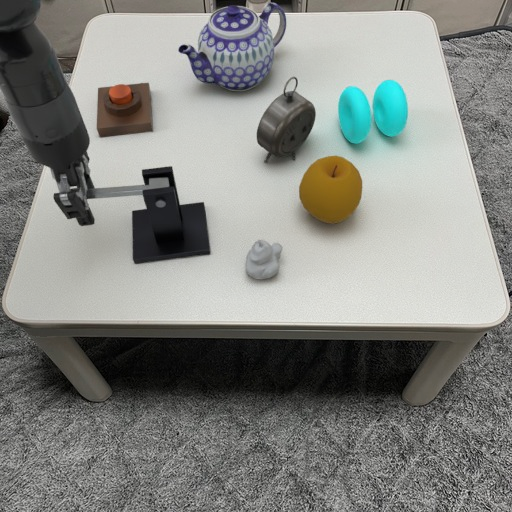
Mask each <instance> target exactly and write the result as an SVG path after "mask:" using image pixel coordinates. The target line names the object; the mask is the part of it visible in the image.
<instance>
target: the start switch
mask: <svg viewBox="0 0 512 512" xmlns="http://www.w3.org/2000/svg"><path fill="white" fill-rule="evenodd" d="M126 85H127V86H129V87H130V89H131V93H132V100H131V101H130V102H129V103H127V104H124V105H116V104H114V103H112V101H111V98H110V94H109V90H110V89H111V88H112V87H113V86H114V85H113V86H112V85H111V86H110V85H109V86H103V87H102V86H101V87H97V104H96V105H97V107H96V130H97V133H98V137H99V138H105V137H115V136H123V135H132V134H134V135H135V134H140V133H141V134H142V133H150V132H151V133H152V132H153V131H154V130H153V129H154V128H153V111H152V109H153V108H152V91H151V88H150V83H149V82H141V83H129V84H126Z"/></svg>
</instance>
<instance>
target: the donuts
mask: <svg viewBox="0 0 512 512" xmlns="http://www.w3.org/2000/svg"><path fill="white" fill-rule="evenodd" d="M373 94H374V95H373V96H372V97H373V98H372V112H371V105H370V102H369V99H368V97H367V95H366V94H365V92H364V91H363V90H362V89H361V88H359V87H357V86H354V85H353V86H352V85H351V86H348V87H345V88H344V89H343V90H342V91H341V93H340V95H339V99H338V105H337V107H338V108H337V113H338V122H339V125H340V128H341V129H340V130H341V132H342V134H343V136H344V137H345V139H346V140H347V141H348V142H349V143H352V144H360V143H362V142H364V141H365V140H366V139H367V137H368V135H369V134H370V130H371V126H372V114H373V119H374V122H375V124H376V126H377V128H378V130H379V131H380V132H381V133H382V134H383V135H385V136H387V137H396V136H399V135H400V134H401V133H402V132H403V131H404V129H405V128H406V125H407V121H408V115H409V107H408V99H407V96H406V92H405V90H404V88H403V87H402V85H401V84H400V83H399V82H398V81H396V80H394V79H386V80H383V81H382V82H380V83H379V84H378V86H377V87H376V89H375V91H374V93H373Z"/></svg>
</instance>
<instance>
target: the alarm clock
mask: <svg viewBox="0 0 512 512" xmlns="http://www.w3.org/2000/svg"><path fill="white" fill-rule="evenodd" d="M292 80H295V86H294V89H292V90H289V91H286V90H287V87H288V85H289V84H290V82H291V81H292ZM298 84H299V81H298V77H296V76H291V77H290V78H289V79H288V80H287V81H286V83H285V84H284V88H283V93H282V94H280V95H279V96H277V97H276V98H275V99H273V101H272V102H271V103H269V105H268V106H267V108H265V110H264V112H263V114H262V116H261V118H260V120H259V123H258V126H257V129H256V142H257V144H258V146H260V148H262V149H264V150H265V151H267V154H266V157H265V159H264V161H263V162H264V164H268V162H269V160H270V158H271V157H272V156H273V157H274V158H277V159H283V158H287V157H289V156H291V157H292V160H293V161H296V160H297V157H296V151H297V150H298V149H300V147H302V146H303V145H304V143H305V142H306V140H307V139H308V138H309V135H310V134H311V133H312V130H313V127H314V125H315V121H316V116H317V113H316V108H315V106H314V103H313V102H312V101H310V100H309V99H307V98H306V97H304V96H302V95H301V94H300V93H298V92H297V91H296V90H297V88H298Z"/></svg>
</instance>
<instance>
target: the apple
mask: <svg viewBox="0 0 512 512" xmlns="http://www.w3.org/2000/svg"><path fill="white" fill-rule="evenodd" d="M362 193H363V178H362V176H361V174H360V170H359V169H358V168H357V167H356V166H355V165H354V163H352V162H351V161H350V160H348V159H347V158H345V157H343V156H339V155H328V156H325V157H322V158H319V159H316V161H314V162H313V163H311V164H310V165H309V167H308V168H307V169H306V171H305V172H304V174H303V176H302V178H301V180H300V183H299V186H298V195H299V200H300V203H301V205H302V206H303V208H304V209H305V210H306V212H307V213H309V214H310V215H311V216H313V217H314V218H315V219H317V220H318V221H321V222H322V223H326V224H338V223H341V222H343V221H345V220H346V219H348V218H349V217H351V216H352V215H353V214H354V212H355V211H356V210H357V208H358V207H359V205H360V203H361V200H362Z"/></svg>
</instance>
